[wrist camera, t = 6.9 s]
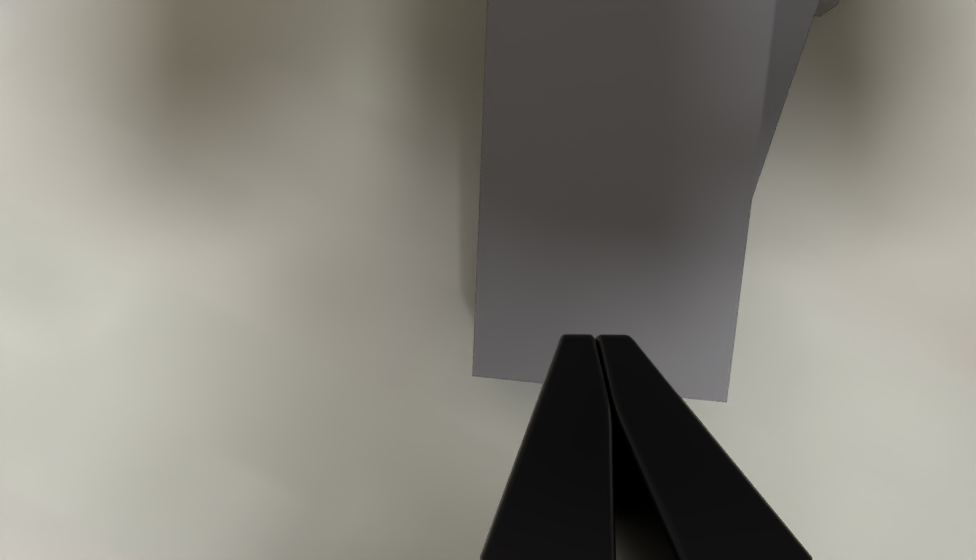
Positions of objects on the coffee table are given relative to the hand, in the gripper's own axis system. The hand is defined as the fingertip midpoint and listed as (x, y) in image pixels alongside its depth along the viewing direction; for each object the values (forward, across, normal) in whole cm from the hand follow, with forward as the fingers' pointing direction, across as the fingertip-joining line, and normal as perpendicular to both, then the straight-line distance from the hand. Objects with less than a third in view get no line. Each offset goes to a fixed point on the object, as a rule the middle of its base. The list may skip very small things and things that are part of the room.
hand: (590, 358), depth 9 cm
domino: (+4, -1, +5) cm, 6 cm away
